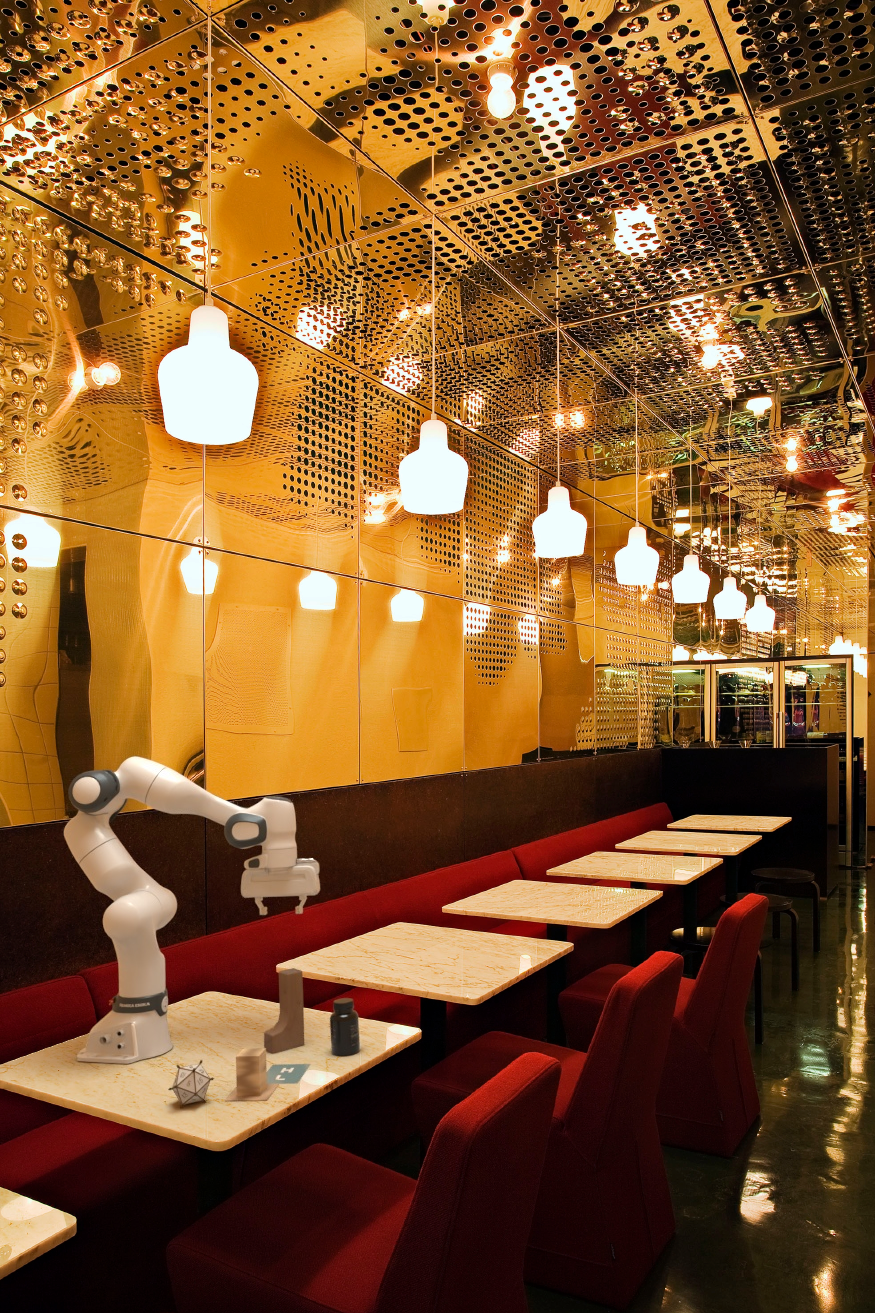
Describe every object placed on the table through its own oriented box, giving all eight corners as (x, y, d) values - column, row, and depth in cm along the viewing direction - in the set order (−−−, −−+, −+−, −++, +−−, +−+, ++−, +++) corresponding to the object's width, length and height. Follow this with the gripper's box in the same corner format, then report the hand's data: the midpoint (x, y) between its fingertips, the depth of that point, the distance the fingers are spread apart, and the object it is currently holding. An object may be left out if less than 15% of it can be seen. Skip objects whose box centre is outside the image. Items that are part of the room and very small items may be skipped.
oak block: (236, 1096, 182) (235, 1056, 183) (244, 1087, 187) (243, 1048, 188) (260, 1096, 182) (259, 1056, 183) (266, 1087, 187) (265, 1048, 187)
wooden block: (272, 1055, 208) (270, 977, 211) (263, 1051, 212) (261, 974, 214) (305, 1046, 214) (302, 970, 216) (296, 1042, 218) (293, 967, 220)
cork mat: (224, 1102, 180) (224, 1100, 180) (238, 1086, 189) (238, 1084, 189) (267, 1102, 179) (266, 1100, 179) (278, 1085, 188) (278, 1083, 188)
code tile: (257, 1085, 189) (257, 1084, 189) (272, 1065, 201) (272, 1064, 201) (297, 1084, 188) (297, 1083, 188) (310, 1065, 200) (310, 1064, 200)
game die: (181, 1125, 179) (152, 1085, 180) (210, 1096, 186) (181, 1058, 187) (201, 1111, 174) (171, 1071, 175) (230, 1082, 181) (200, 1043, 182)
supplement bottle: (354, 1046, 212) (352, 995, 214) (364, 1054, 206) (362, 1001, 207) (327, 1051, 209) (325, 999, 211) (336, 1059, 203) (334, 1006, 204)
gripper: (322, 856, 227) (323, 910, 226) (246, 859, 229) (247, 913, 228) (316, 859, 221) (317, 915, 220) (238, 862, 223) (239, 917, 222)
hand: (281, 914), depth 224 cm, fingers open, 8 cm apart
